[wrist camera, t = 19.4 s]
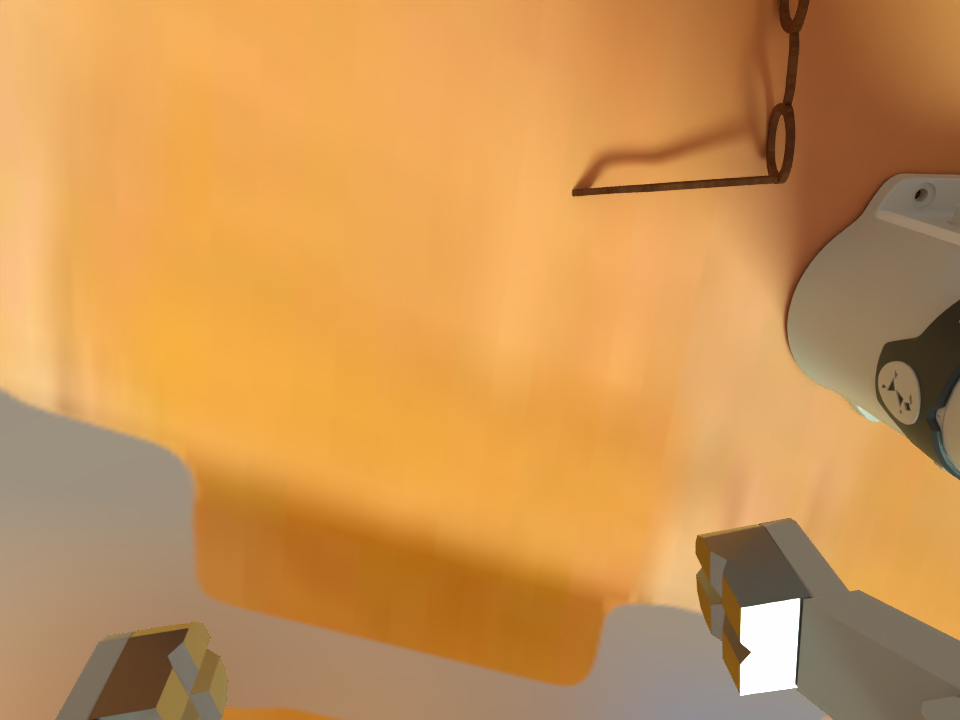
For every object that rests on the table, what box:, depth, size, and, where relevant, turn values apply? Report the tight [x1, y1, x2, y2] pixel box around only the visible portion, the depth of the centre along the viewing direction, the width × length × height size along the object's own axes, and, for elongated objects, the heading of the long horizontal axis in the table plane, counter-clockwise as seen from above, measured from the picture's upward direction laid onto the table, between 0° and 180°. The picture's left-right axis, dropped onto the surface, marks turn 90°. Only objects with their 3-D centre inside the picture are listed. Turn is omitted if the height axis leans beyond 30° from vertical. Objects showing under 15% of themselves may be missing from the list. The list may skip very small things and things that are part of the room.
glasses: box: [573, 0, 809, 196], centre depth 39 cm, size 13×13×5 cm
